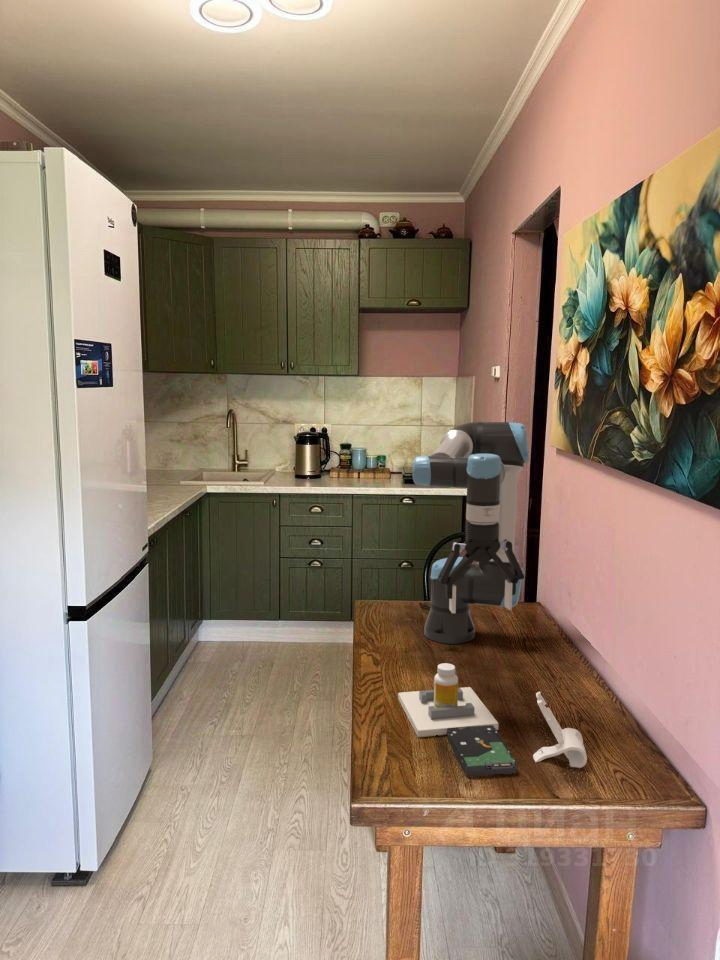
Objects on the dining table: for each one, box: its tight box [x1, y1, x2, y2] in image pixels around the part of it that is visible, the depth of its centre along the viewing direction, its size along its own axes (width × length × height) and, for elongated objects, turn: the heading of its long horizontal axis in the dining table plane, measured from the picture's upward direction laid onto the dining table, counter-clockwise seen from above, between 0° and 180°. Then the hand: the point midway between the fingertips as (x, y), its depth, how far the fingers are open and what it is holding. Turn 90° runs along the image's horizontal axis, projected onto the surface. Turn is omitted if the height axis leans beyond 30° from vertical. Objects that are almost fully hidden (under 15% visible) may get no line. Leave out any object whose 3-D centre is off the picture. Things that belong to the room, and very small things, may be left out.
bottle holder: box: [397, 686, 499, 738], centre depth 150 cm, size 18×18×4 cm
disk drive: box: [446, 725, 518, 778], centre depth 133 cm, size 10×3×15 cm
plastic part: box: [532, 691, 588, 769], centre depth 132 cm, size 8×10×12 cm
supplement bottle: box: [433, 662, 459, 708], centre depth 149 cm, size 5×5×10 cm
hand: (480, 609), depth 155 cm, fingers open, 13 cm apart
